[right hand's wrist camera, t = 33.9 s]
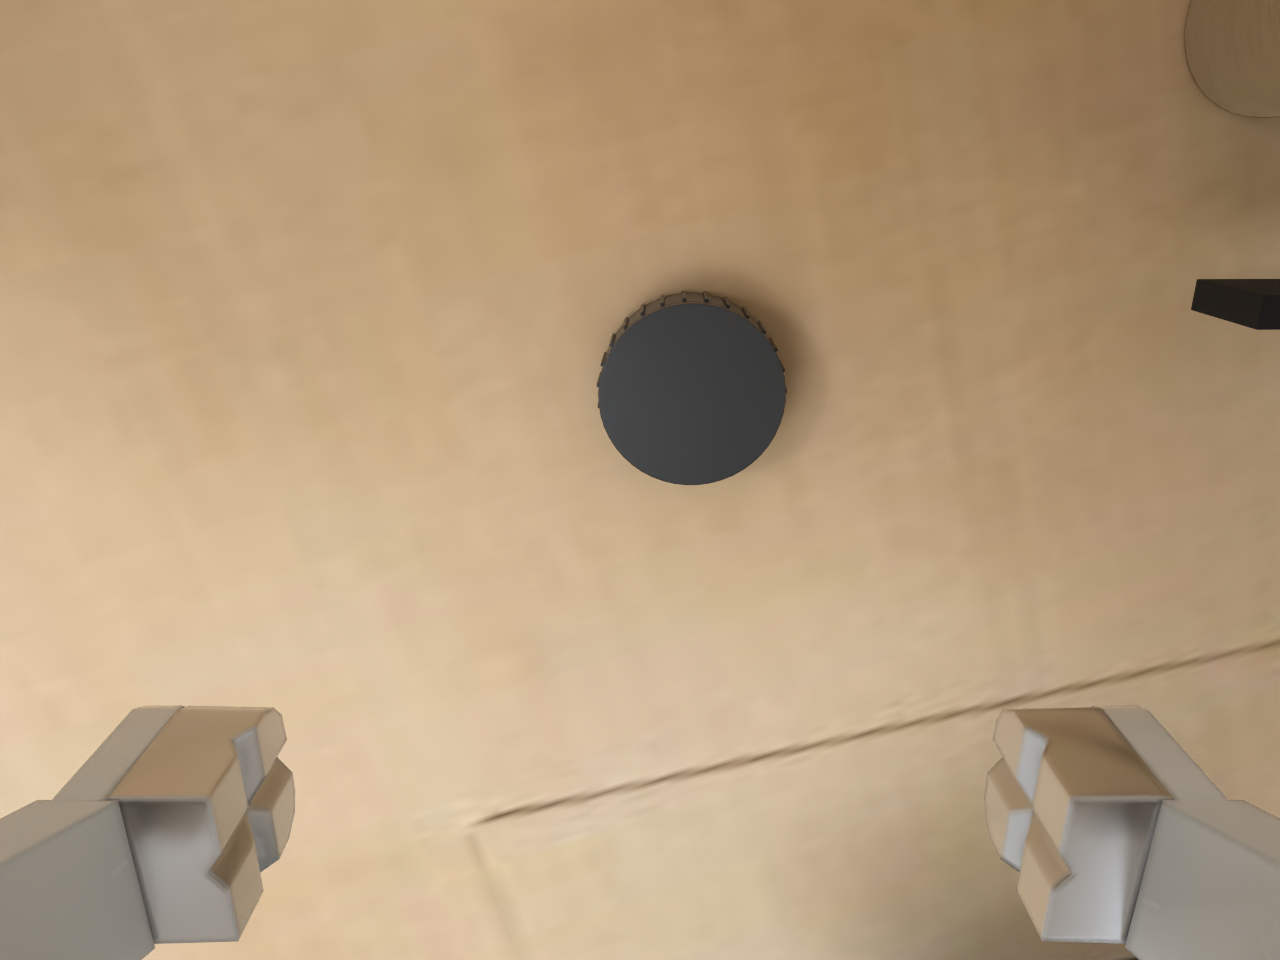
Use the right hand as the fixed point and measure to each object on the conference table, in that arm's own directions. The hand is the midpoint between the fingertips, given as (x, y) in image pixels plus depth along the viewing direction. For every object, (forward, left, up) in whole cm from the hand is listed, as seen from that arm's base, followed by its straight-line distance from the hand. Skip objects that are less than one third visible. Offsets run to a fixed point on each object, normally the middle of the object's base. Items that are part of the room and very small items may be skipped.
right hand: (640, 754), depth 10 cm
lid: (+1, +1, -18) cm, 17 cm away
